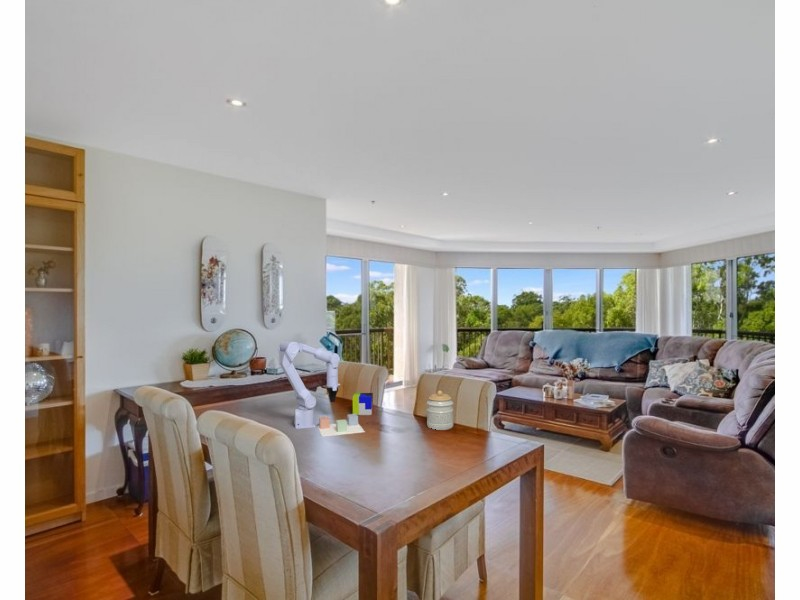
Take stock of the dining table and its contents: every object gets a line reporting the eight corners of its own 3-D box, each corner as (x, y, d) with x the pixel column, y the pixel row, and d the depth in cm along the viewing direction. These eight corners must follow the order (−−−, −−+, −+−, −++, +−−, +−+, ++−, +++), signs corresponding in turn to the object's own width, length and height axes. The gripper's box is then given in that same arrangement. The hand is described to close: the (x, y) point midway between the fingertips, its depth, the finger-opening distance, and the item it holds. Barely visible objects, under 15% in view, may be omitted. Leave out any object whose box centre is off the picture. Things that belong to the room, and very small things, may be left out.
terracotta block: (320, 429, 205) (320, 419, 205) (319, 426, 210) (319, 417, 210) (329, 428, 207) (329, 418, 207) (328, 425, 211) (328, 416, 211)
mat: (322, 437, 194) (322, 436, 194) (317, 426, 211) (317, 425, 211) (365, 432, 200) (365, 431, 200) (356, 422, 217) (356, 421, 217)
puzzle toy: (371, 415, 230) (371, 397, 230) (352, 415, 230) (352, 397, 230) (372, 410, 240) (372, 392, 240) (355, 410, 240) (354, 392, 240)
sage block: (337, 432, 200) (337, 422, 200) (336, 429, 204) (336, 420, 204) (347, 431, 201) (347, 421, 201) (345, 428, 205) (345, 419, 205)
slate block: (349, 426, 210) (349, 416, 210) (347, 423, 214) (347, 414, 214) (358, 425, 211) (358, 416, 211) (356, 422, 215) (356, 413, 215)
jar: (453, 422, 215) (452, 387, 215) (453, 430, 202) (453, 393, 202) (427, 422, 216) (427, 387, 216) (426, 430, 203) (426, 393, 203)
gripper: (342, 377, 216) (342, 404, 216) (337, 373, 229) (337, 398, 230) (328, 378, 213) (328, 405, 214) (324, 373, 227) (324, 399, 227)
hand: (332, 401), depth 221 cm, fingers closed
